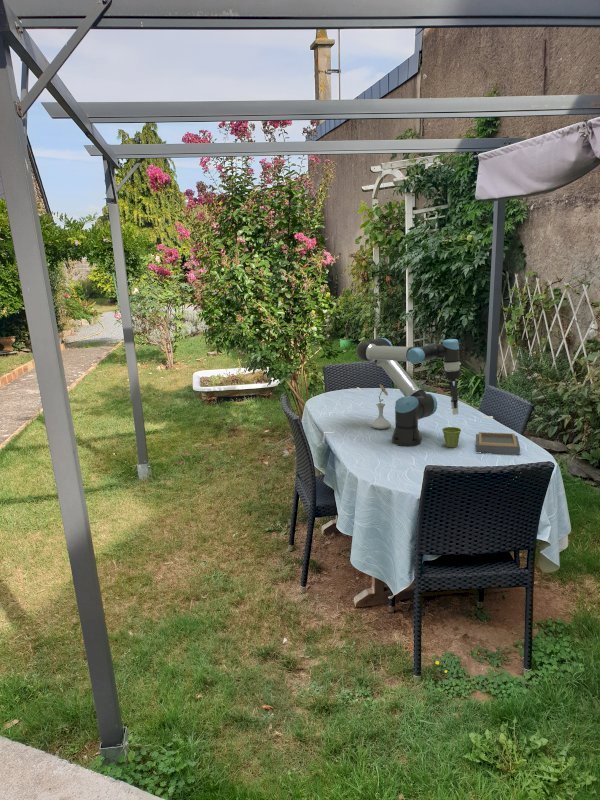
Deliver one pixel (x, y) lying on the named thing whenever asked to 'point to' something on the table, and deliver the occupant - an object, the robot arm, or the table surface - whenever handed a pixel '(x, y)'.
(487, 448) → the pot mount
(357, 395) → the table surface
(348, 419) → the table surface
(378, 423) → the flower in vase
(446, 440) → the plant pot
